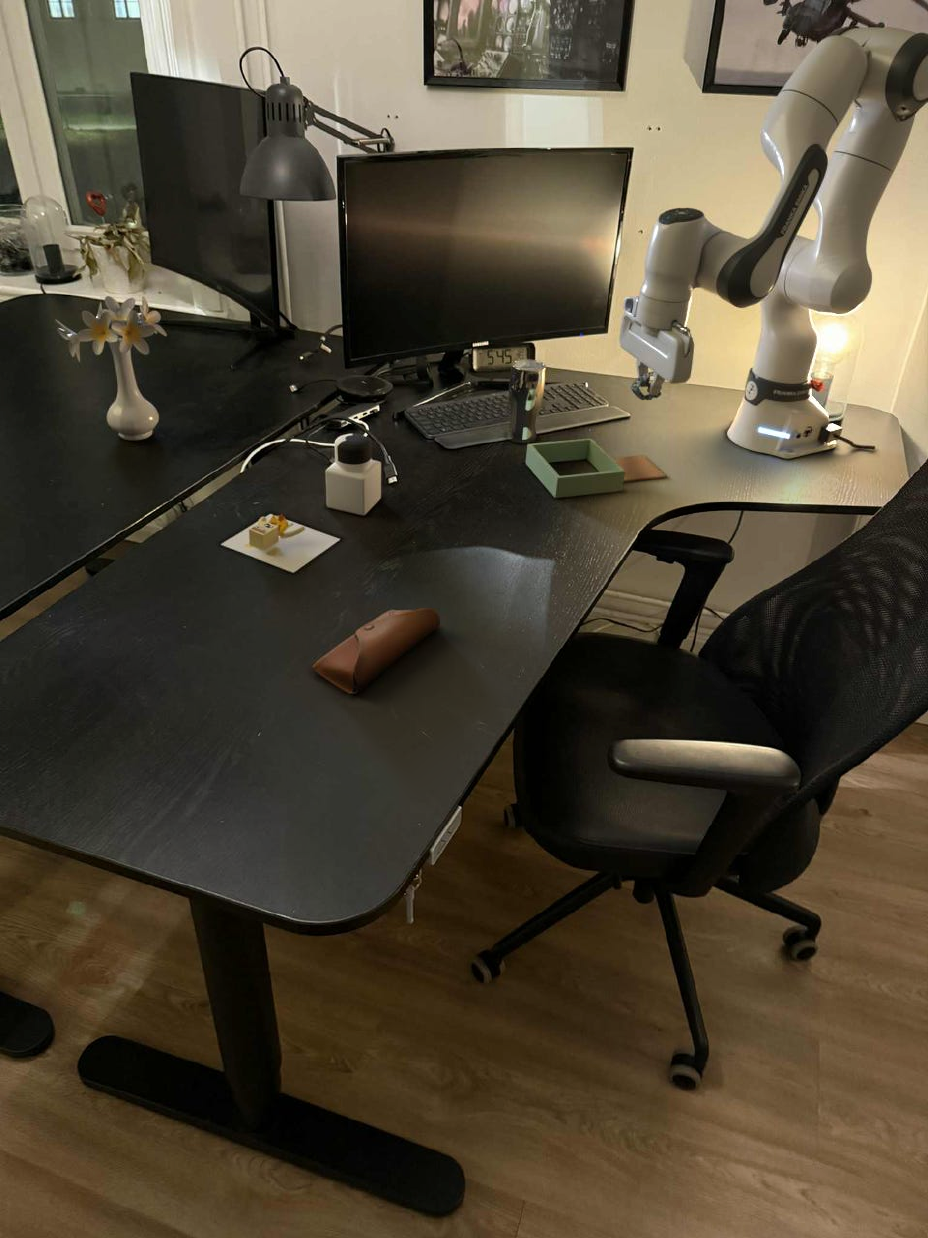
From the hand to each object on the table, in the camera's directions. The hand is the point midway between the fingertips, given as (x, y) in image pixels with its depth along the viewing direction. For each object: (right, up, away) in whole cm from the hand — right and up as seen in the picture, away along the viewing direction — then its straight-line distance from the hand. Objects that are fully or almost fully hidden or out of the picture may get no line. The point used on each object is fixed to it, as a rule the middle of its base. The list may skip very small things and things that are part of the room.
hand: (647, 389), depth 157 cm
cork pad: (-1, -13, +9) cm, 16 cm away
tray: (-13, -15, +5) cm, 20 cm away
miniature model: (-62, -30, -20) cm, 72 cm away
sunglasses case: (-45, -46, -41) cm, 76 cm away
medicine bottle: (-52, -22, -8) cm, 57 cm away
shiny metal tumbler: (-22, -5, +18) cm, 29 cm away
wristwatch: (0, -2, +1) cm, 2 cm away
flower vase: (-96, -7, +8) cm, 97 cm away
